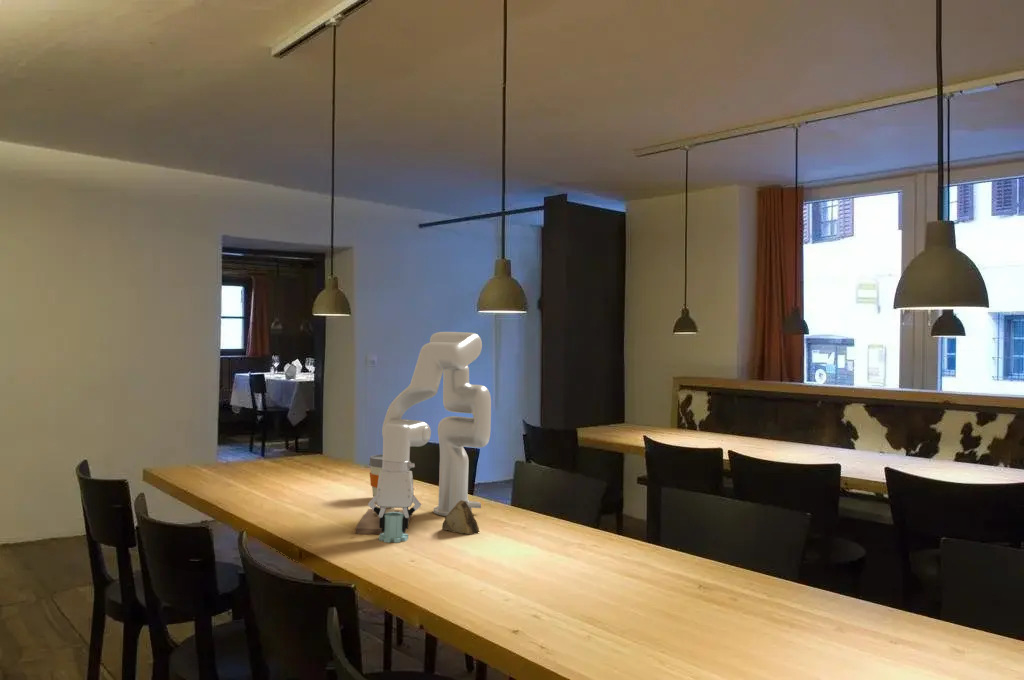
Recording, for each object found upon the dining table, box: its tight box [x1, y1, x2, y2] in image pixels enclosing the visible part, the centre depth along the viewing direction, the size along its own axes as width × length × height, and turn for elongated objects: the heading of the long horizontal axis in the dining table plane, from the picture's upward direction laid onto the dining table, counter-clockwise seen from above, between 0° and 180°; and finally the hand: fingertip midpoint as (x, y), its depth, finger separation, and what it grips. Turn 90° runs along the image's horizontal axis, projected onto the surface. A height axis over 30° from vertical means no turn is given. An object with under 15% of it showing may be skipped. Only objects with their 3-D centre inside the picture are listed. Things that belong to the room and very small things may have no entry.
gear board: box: [354, 506, 413, 535], centre depth 226 cm, size 14×25×7 cm, turn 3°
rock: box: [441, 500, 481, 535], centre depth 220 cm, size 11×9×10 cm
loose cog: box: [378, 512, 409, 544], centre depth 209 cm, size 8×8×7 cm
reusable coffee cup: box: [368, 454, 383, 499], centre depth 261 cm, size 13×12×15 cm
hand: (393, 530), depth 209 cm, fingers closed on loose cog, 5 cm apart
